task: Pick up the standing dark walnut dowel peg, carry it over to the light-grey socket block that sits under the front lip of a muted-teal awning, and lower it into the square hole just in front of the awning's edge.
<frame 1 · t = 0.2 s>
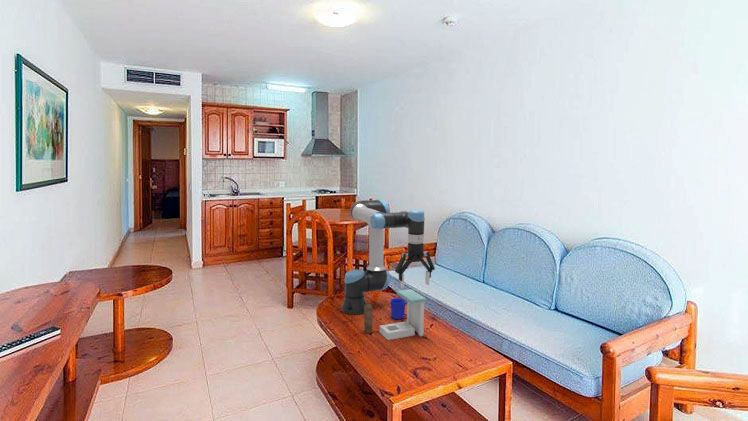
hand: (414, 285, 193), 28 cm above the table, fingers open, 13 cm apart
station: (392, 334, 202), on the table
peg: (368, 331, 205), on the table
mug: (400, 318, 224), on the table
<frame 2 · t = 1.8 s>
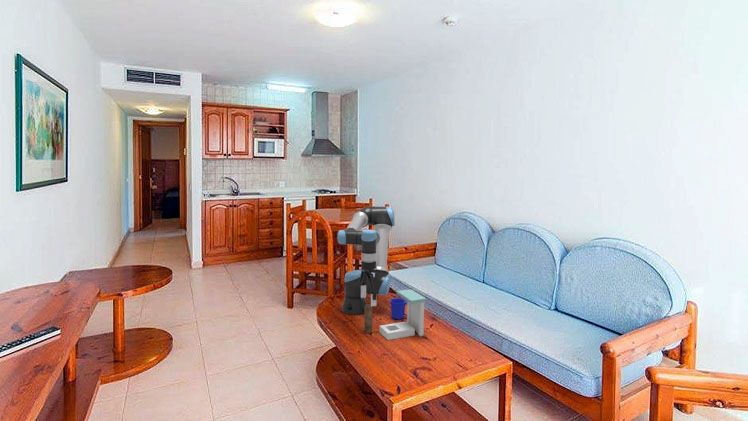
hand: (368, 301, 203), 16 cm above the table, fingers open, 13 cm apart
nothing on the table moved.
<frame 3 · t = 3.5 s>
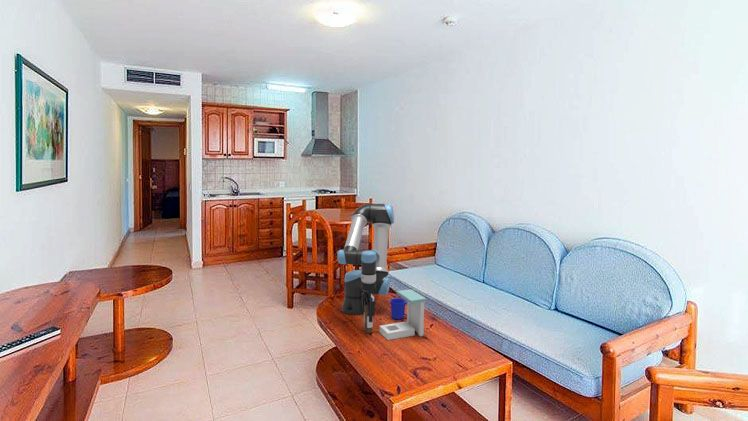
hand: (368, 325, 205), 3 cm above the table, fingers closed on peg, 4 cm apart
peg: (368, 331, 205), on the table, touching gripper
everything else where it was.
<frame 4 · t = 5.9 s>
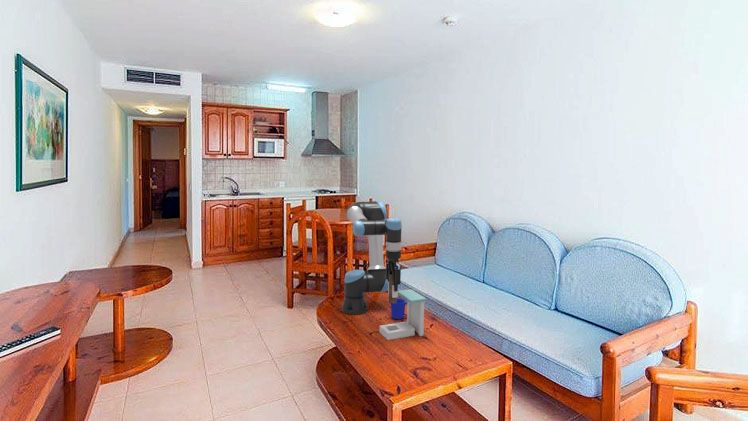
hand: (392, 295, 199), 20 cm above the table, fingers closed on peg, 4 cm apart
peg: (392, 302, 200), point 17 cm above the table, touching gripper
everything else where it was.
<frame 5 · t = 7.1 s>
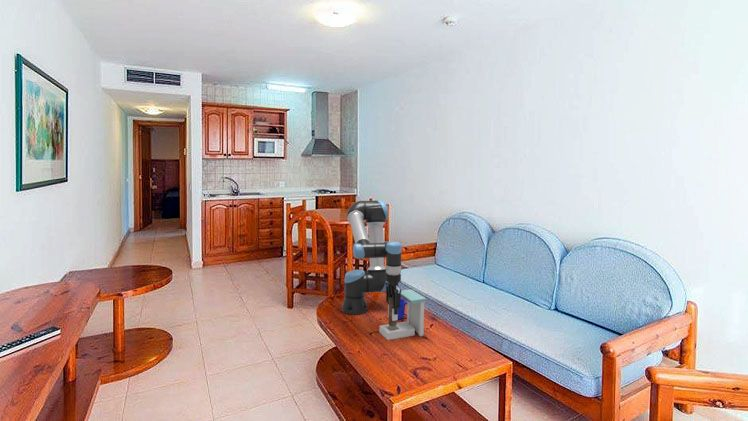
hand: (392, 318, 201), 9 cm above the table, fingers closed on peg, 4 cm apart
peg: (392, 324, 201), point 5 cm above the table, touching gripper
everything else where it was.
when the fingers open (4 cm above the table, at t = 8.2 s): peg stays where it is, resting in station.
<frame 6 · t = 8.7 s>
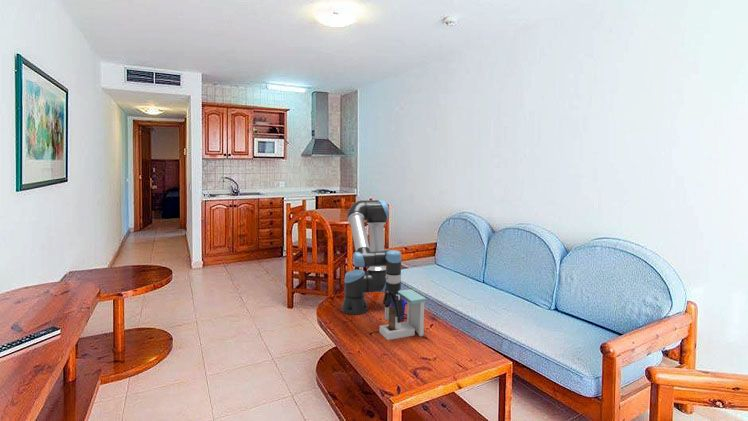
hand: (392, 323, 201), 6 cm above the table, fingers open, 11 cm apart
peg: (392, 334, 202), resting in station
everything else where it was.
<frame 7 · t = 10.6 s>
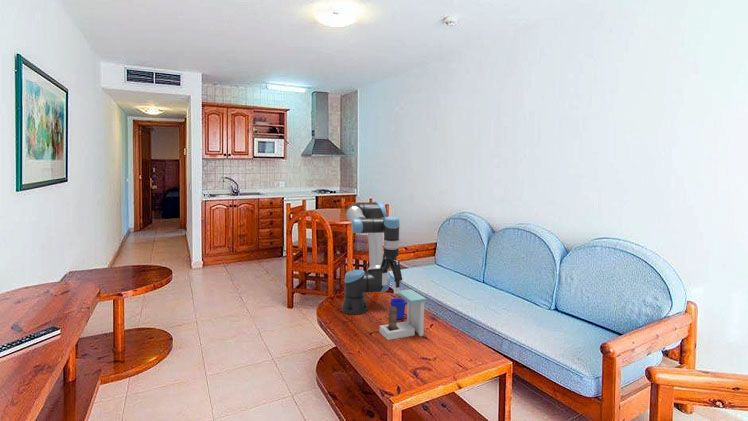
hand: (390, 289, 201), 23 cm above the table, fingers open, 13 cm apart
nothing on the table moved.
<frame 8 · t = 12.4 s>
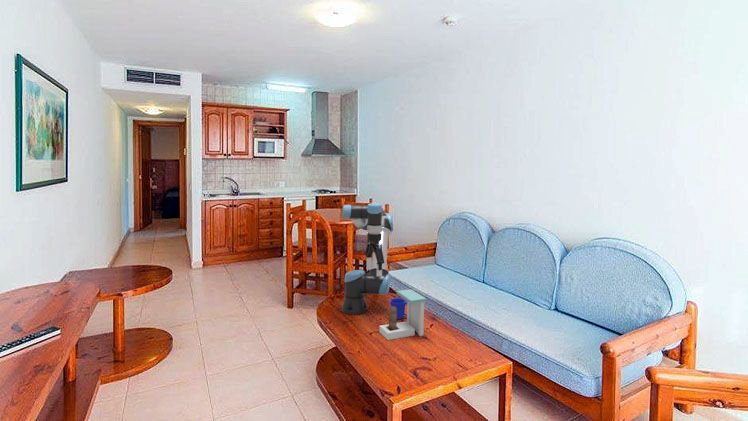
hand: (374, 272, 211), 29 cm above the table, fingers open, 13 cm apart
nothing on the table moved.
at the end: peg 0.0 cm off-centre on the station, point 0.0 cm above the station's base; peg tilted 0°; the gripper is holding nothing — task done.
